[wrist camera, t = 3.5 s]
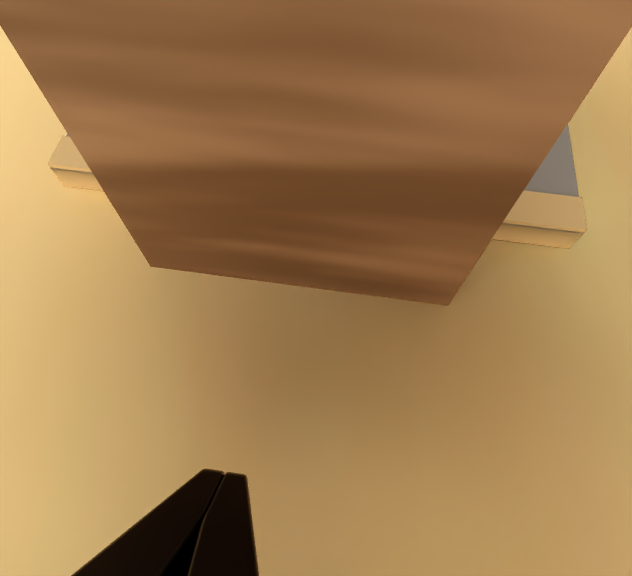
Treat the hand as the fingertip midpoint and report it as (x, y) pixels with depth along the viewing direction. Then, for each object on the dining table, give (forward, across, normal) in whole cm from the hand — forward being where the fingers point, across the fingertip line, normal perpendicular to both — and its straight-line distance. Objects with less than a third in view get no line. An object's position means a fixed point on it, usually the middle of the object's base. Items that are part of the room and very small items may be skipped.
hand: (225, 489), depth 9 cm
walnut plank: (+11, 0, -2) cm, 12 cm away
